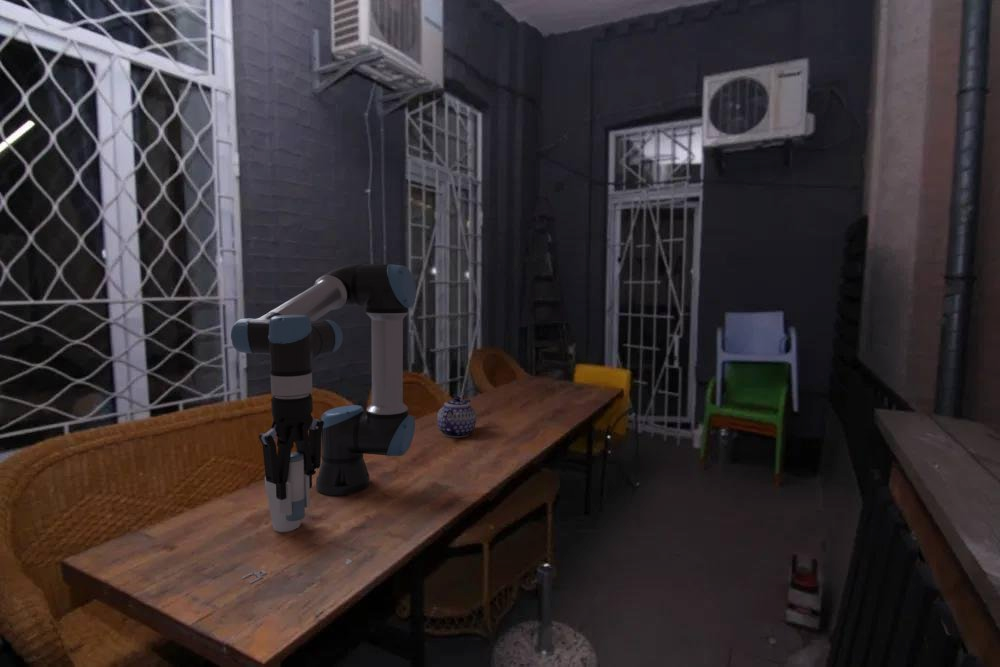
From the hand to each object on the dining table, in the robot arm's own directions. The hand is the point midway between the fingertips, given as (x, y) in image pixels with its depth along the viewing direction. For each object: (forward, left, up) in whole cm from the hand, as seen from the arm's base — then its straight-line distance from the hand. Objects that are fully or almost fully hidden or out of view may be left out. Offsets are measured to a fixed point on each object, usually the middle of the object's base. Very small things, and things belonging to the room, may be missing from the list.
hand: (295, 509), depth 106 cm
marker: (0, 0, -2) cm, 2 cm away
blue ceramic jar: (-99, -33, -15) cm, 105 cm away
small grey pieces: (0, -5, -16) cm, 17 cm away
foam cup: (-14, -22, -15) cm, 30 cm away
